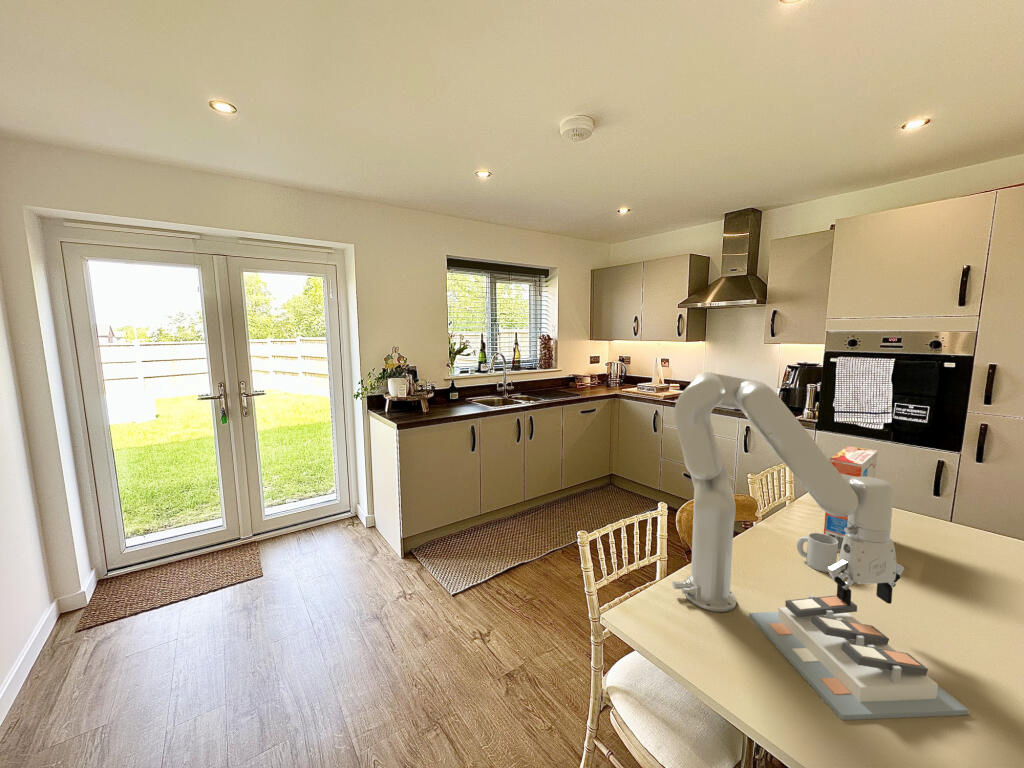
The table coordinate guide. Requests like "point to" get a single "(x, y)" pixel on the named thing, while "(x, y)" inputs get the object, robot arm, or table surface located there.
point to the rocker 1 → (819, 606)
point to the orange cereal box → (849, 464)
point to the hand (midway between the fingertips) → (863, 601)
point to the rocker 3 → (883, 658)
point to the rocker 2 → (849, 630)
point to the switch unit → (852, 672)
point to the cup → (819, 550)
